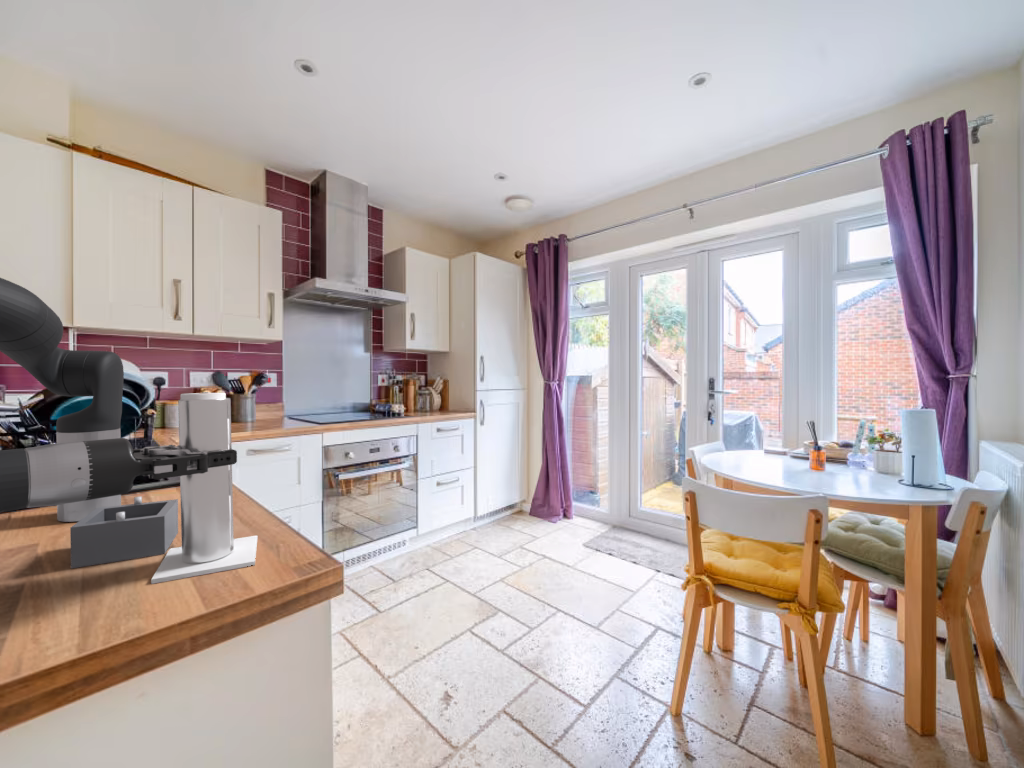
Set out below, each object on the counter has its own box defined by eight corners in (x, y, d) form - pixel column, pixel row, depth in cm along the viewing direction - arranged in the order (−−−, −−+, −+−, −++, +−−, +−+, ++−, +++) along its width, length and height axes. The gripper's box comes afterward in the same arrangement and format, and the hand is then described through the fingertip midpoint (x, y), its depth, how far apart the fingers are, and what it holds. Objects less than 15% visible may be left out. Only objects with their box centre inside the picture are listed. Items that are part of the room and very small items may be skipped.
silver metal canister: (207, 565, 62) (203, 393, 61) (170, 562, 63) (166, 393, 63) (243, 547, 68) (240, 391, 68) (209, 545, 70) (206, 391, 69)
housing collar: (97, 543, 72) (97, 500, 72) (178, 532, 77) (177, 492, 77) (70, 568, 62) (70, 519, 62) (164, 553, 68) (164, 508, 67)
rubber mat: (170, 552, 68) (170, 548, 68) (257, 538, 74) (257, 535, 74) (151, 583, 58) (151, 579, 58) (254, 565, 64) (254, 561, 64)
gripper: (92, 447, 50) (244, 433, 63) (67, 437, 58) (206, 426, 71) (92, 511, 50) (244, 483, 63) (68, 491, 58) (206, 471, 71)
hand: (224, 453), depth 67 cm, fingers open, 8 cm apart
